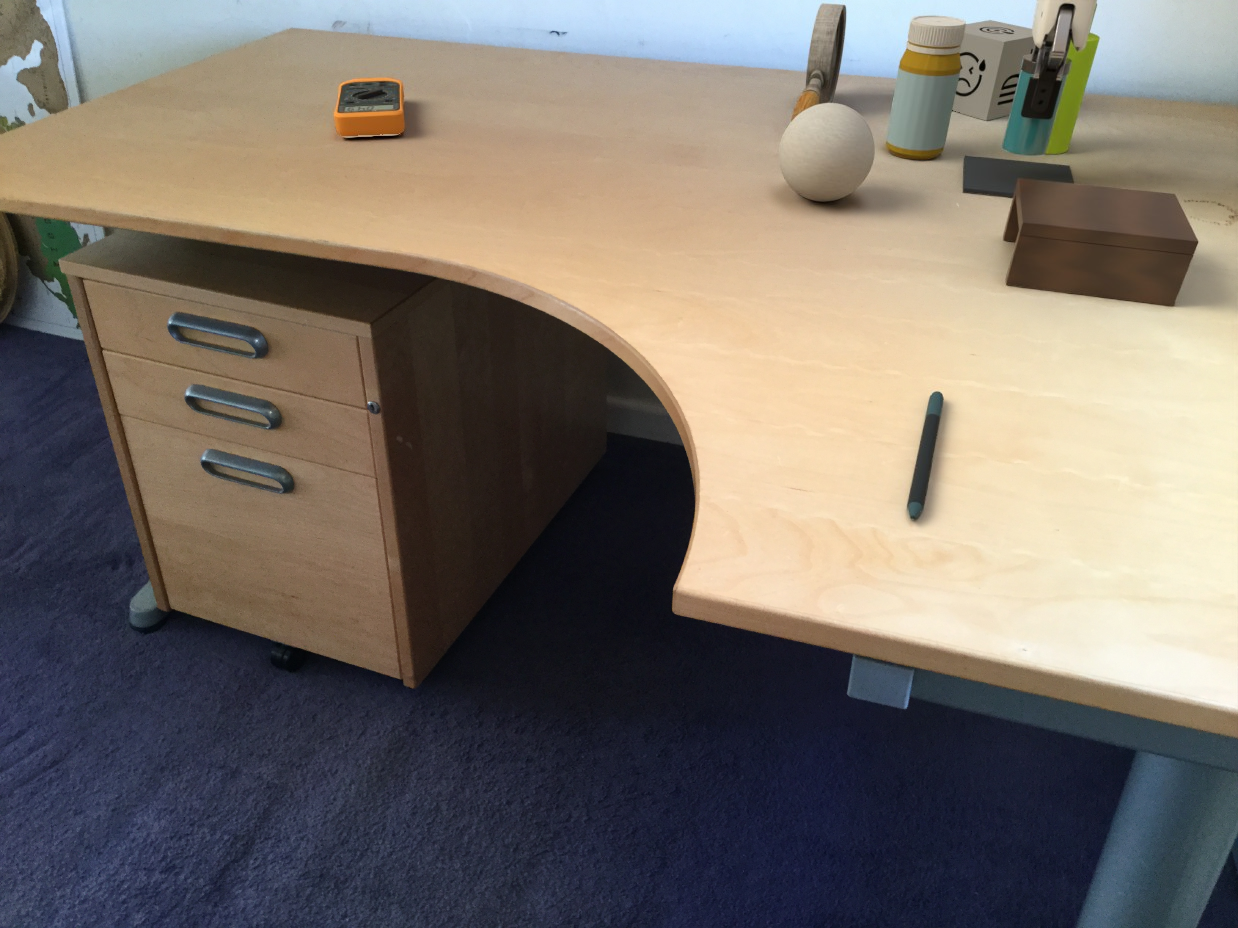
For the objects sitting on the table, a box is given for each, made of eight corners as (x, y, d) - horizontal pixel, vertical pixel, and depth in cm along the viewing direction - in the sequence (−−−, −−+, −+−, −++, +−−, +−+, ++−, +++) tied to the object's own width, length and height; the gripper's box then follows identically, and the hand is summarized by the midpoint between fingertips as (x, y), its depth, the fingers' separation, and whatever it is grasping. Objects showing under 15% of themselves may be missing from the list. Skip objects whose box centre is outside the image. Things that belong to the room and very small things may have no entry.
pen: (902, 526, 58) (905, 511, 57) (928, 400, 70) (931, 386, 69) (919, 530, 58) (923, 515, 57) (943, 403, 70) (946, 389, 69)
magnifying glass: (814, 84, 114) (849, -13, 128) (789, 82, 115) (827, -14, 129) (807, 176, 124) (840, 77, 138) (784, 173, 125) (819, 75, 139)
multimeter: (405, 100, 134) (402, 75, 132) (406, 138, 120) (402, 110, 118) (343, 103, 132) (339, 77, 130) (337, 142, 118) (332, 114, 116)
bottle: (873, 147, 118) (894, 17, 109) (918, 140, 120) (943, 13, 112) (907, 164, 113) (933, 29, 104) (954, 157, 115) (983, 24, 106)
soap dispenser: (1061, 159, 115) (1112, -23, 103) (1009, 146, 119) (1053, -31, 107) (1084, 149, 118) (1137, -29, 106) (1033, 136, 122) (1078, -36, 110)
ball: (764, 207, 101) (773, 111, 95) (785, 178, 108) (796, 88, 103) (857, 221, 98) (873, 123, 92) (873, 190, 106) (888, 97, 100)
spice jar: (1045, 144, 108) (1070, 55, 102) (1048, 158, 104) (1074, 66, 98) (1000, 140, 109) (1021, 52, 103) (1001, 153, 105) (1023, 62, 99)
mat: (1068, 169, 112) (1069, 165, 111) (1077, 204, 102) (1078, 200, 102) (963, 159, 114) (964, 155, 114) (962, 192, 105) (963, 188, 105)
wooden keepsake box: (1153, 253, 92) (1175, 193, 88) (1173, 306, 82) (1199, 241, 79) (1002, 236, 95) (1017, 177, 91) (1005, 285, 86) (1022, 222, 82)
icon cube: (1032, 109, 132) (1051, 33, 126) (986, 120, 128) (1004, 42, 122) (974, 93, 139) (990, 20, 133) (928, 103, 134) (943, 28, 129)
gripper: (1136, -66, 86) (1077, 136, 96) (1115, -86, 99) (1064, 94, 110) (1049, -70, 87) (1000, 129, 98) (1039, -89, 101) (997, 88, 111)
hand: (1034, 109), depth 104 cm, fingers closed on spice jar, 4 cm apart
